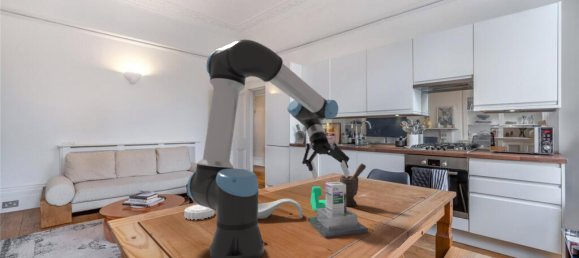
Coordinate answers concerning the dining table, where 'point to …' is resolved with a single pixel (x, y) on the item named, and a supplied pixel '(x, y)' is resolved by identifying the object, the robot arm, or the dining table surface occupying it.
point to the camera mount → (317, 199)
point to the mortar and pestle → (352, 185)
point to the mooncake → (198, 212)
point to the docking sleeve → (336, 224)
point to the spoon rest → (268, 208)
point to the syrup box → (335, 198)
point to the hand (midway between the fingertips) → (331, 176)
